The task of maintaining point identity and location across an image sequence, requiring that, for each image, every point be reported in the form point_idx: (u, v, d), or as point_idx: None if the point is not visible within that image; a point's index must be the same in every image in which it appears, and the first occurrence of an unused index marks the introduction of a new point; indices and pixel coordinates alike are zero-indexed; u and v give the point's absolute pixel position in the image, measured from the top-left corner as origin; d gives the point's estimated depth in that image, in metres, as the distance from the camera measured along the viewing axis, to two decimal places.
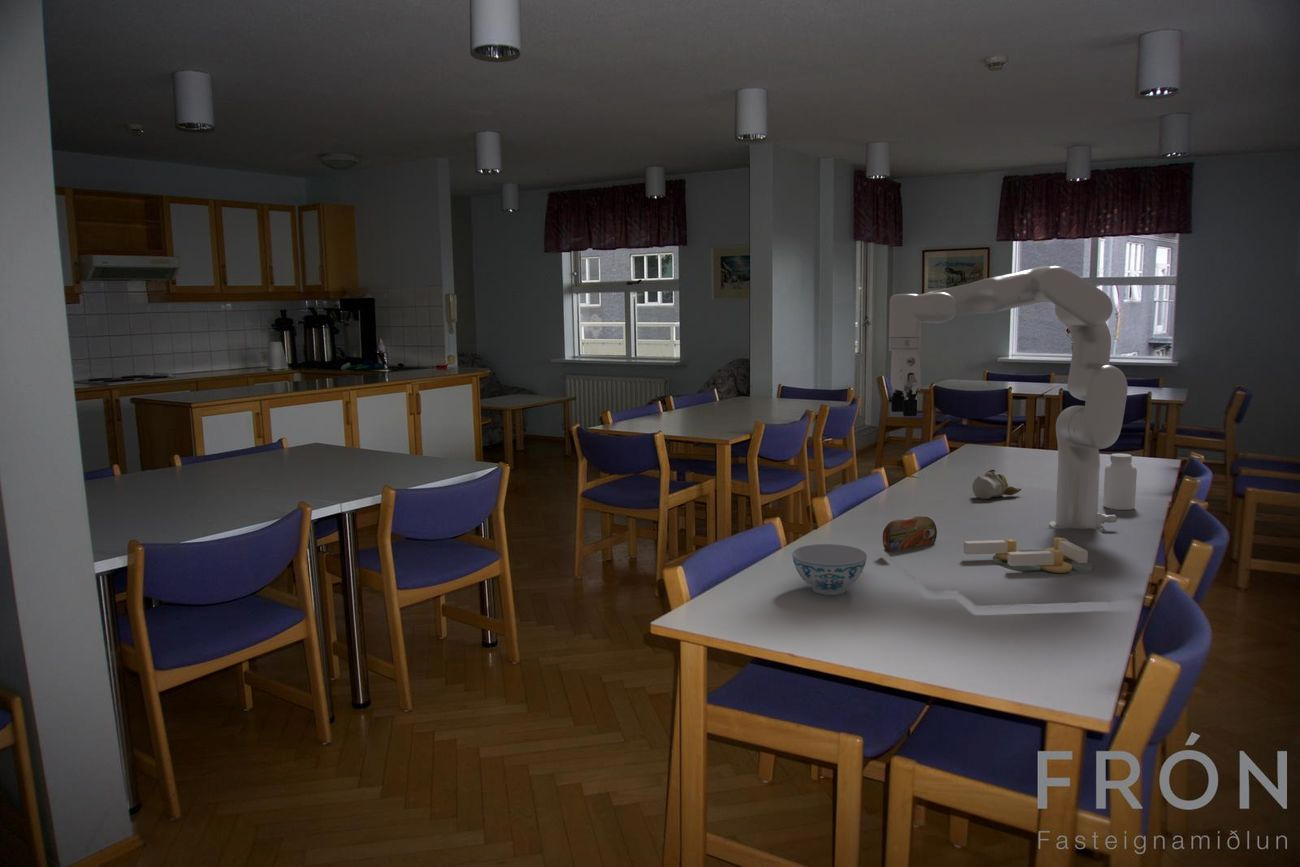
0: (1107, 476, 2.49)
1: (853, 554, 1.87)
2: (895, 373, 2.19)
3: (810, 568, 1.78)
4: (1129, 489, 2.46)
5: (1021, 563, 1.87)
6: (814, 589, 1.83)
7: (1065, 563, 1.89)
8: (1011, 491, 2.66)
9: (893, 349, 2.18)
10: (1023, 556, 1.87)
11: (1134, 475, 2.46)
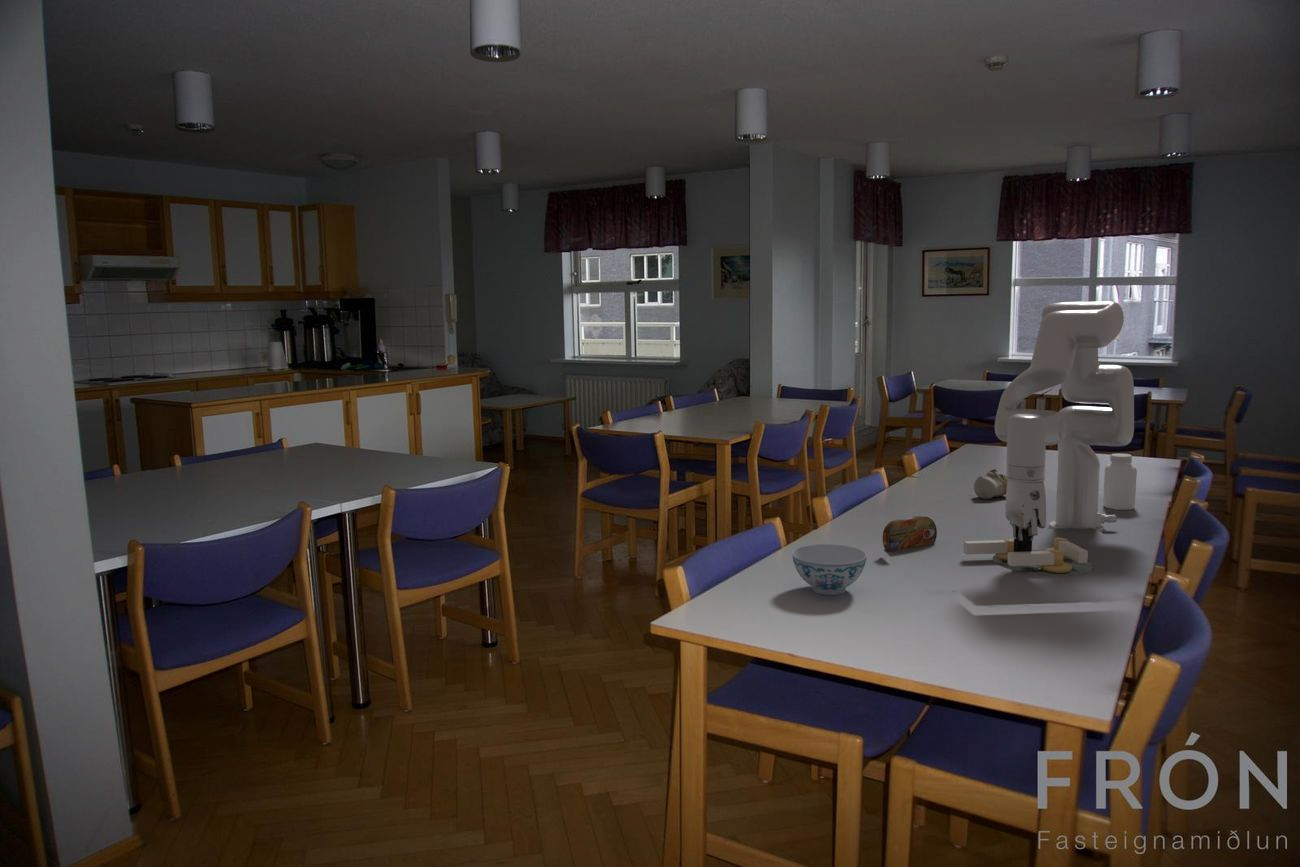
0: (1107, 476, 2.49)
1: (853, 554, 1.87)
2: (1015, 507, 1.88)
3: (810, 568, 1.78)
4: (1129, 489, 2.46)
5: (1021, 563, 1.87)
6: (814, 589, 1.83)
7: (1065, 563, 1.89)
8: None
9: (1013, 479, 1.87)
10: (1023, 556, 1.87)
11: (1134, 475, 2.46)
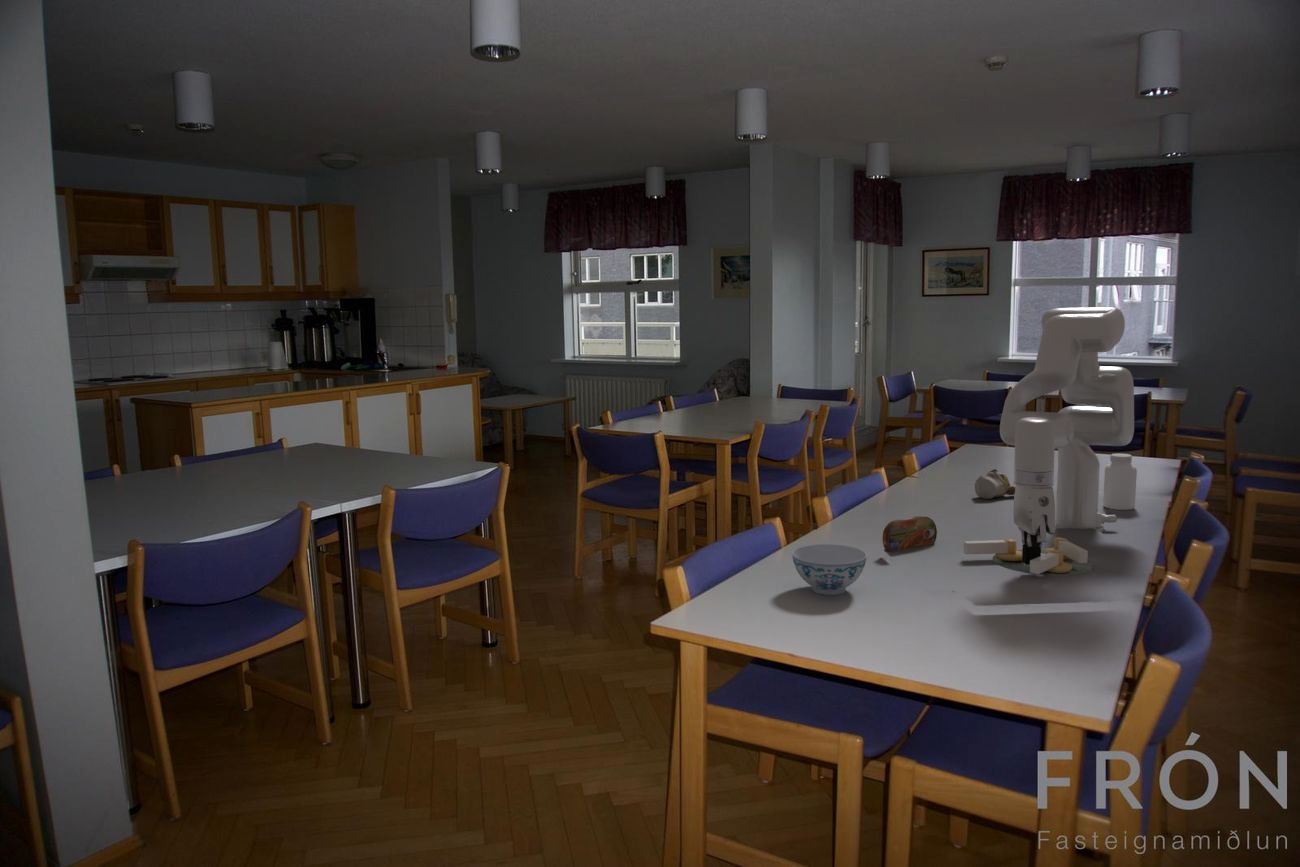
0: (1107, 476, 2.49)
1: (853, 554, 1.87)
2: (1023, 512, 1.84)
3: (810, 568, 1.78)
4: (1129, 489, 2.46)
5: (1043, 569, 1.82)
6: (814, 589, 1.83)
7: None
8: (1013, 491, 2.66)
9: (1021, 485, 1.82)
10: (1044, 562, 1.83)
11: (1134, 475, 2.46)
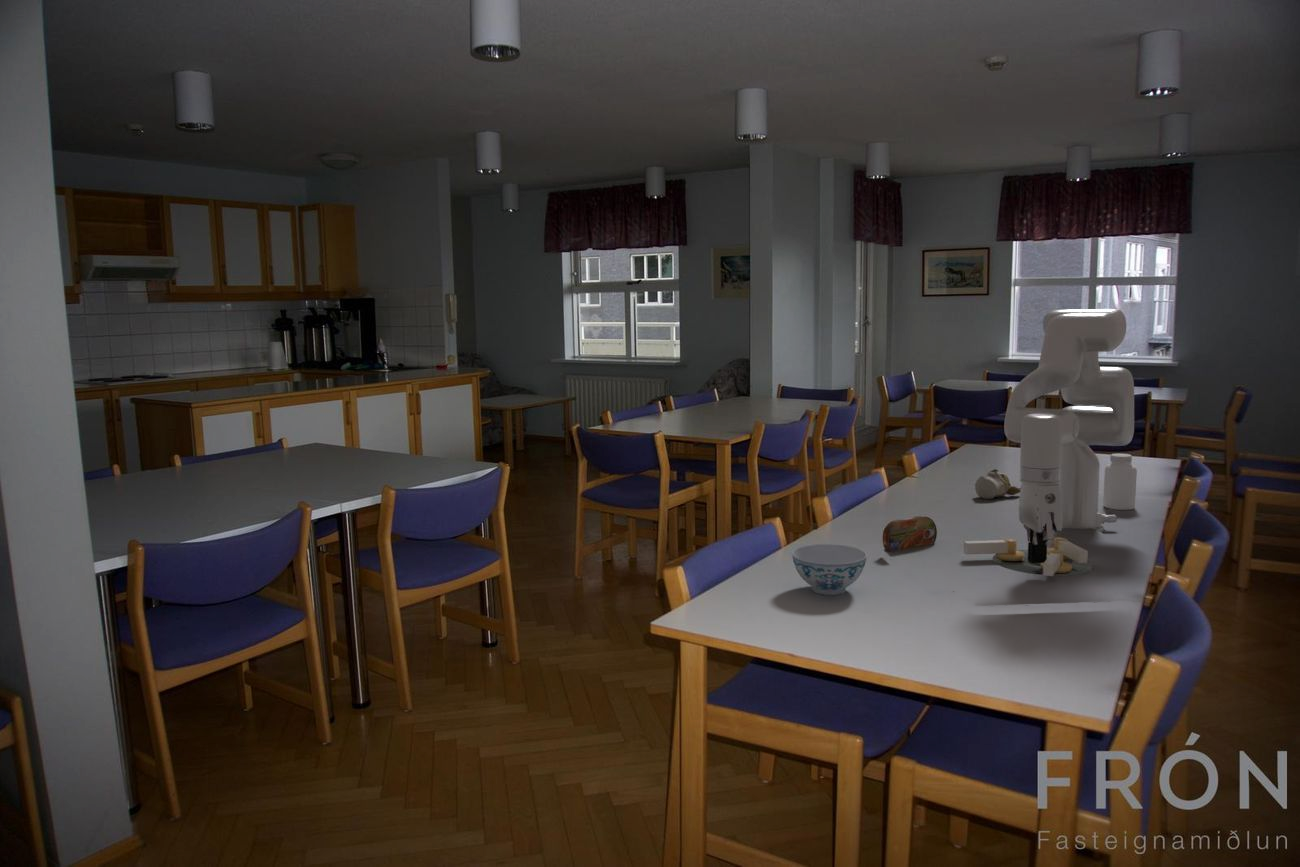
0: (1107, 476, 2.49)
1: (853, 554, 1.87)
2: (1029, 510, 1.82)
3: (810, 568, 1.78)
4: (1129, 489, 2.46)
5: (1054, 571, 1.81)
6: (814, 589, 1.83)
7: None
8: (1014, 491, 2.66)
9: (1027, 482, 1.80)
10: (1055, 563, 1.81)
11: (1134, 475, 2.46)
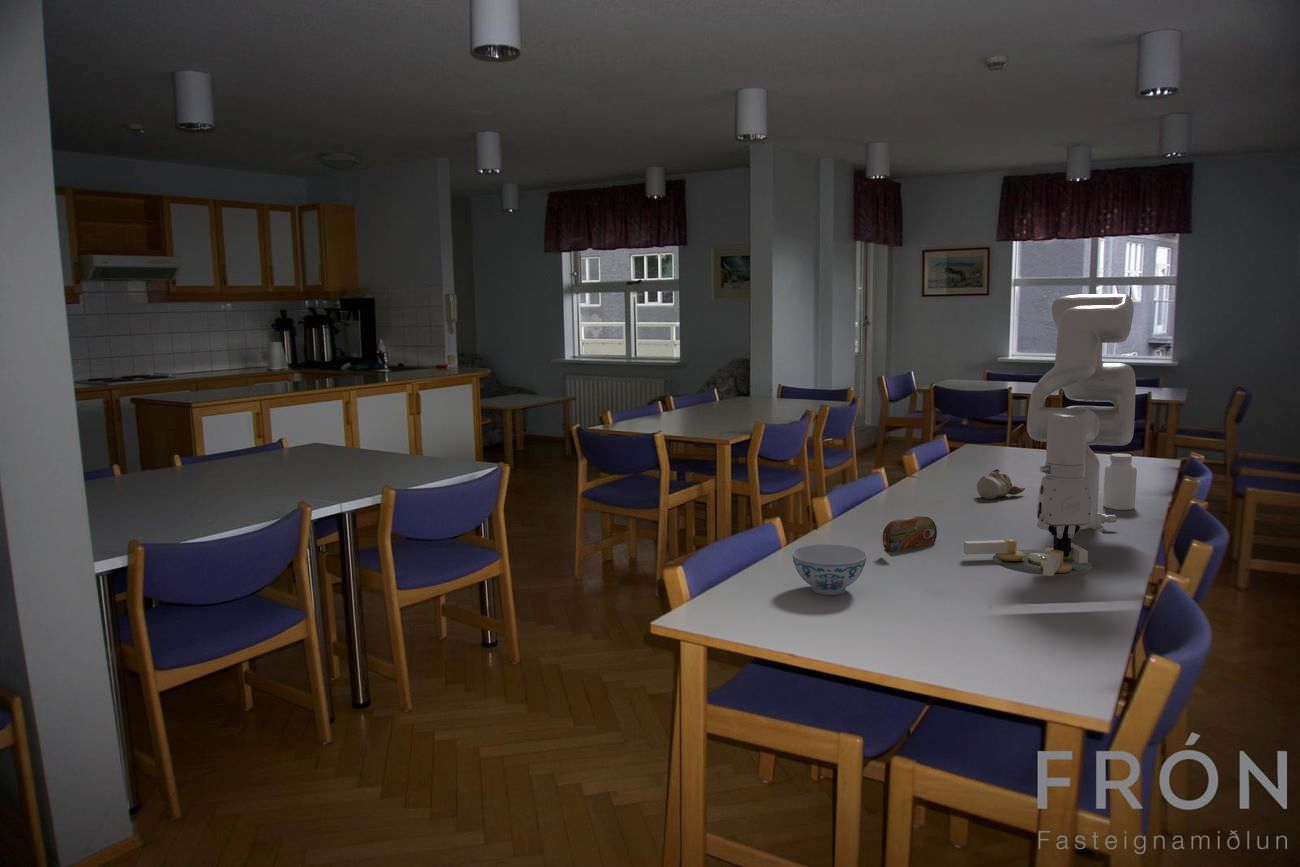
0: (1107, 476, 2.49)
1: (853, 554, 1.87)
2: None
3: (810, 568, 1.78)
4: (1129, 489, 2.46)
5: (1054, 571, 1.81)
6: (814, 589, 1.83)
7: None
8: (1015, 491, 2.67)
9: None
10: (1055, 563, 1.81)
11: (1134, 475, 2.46)
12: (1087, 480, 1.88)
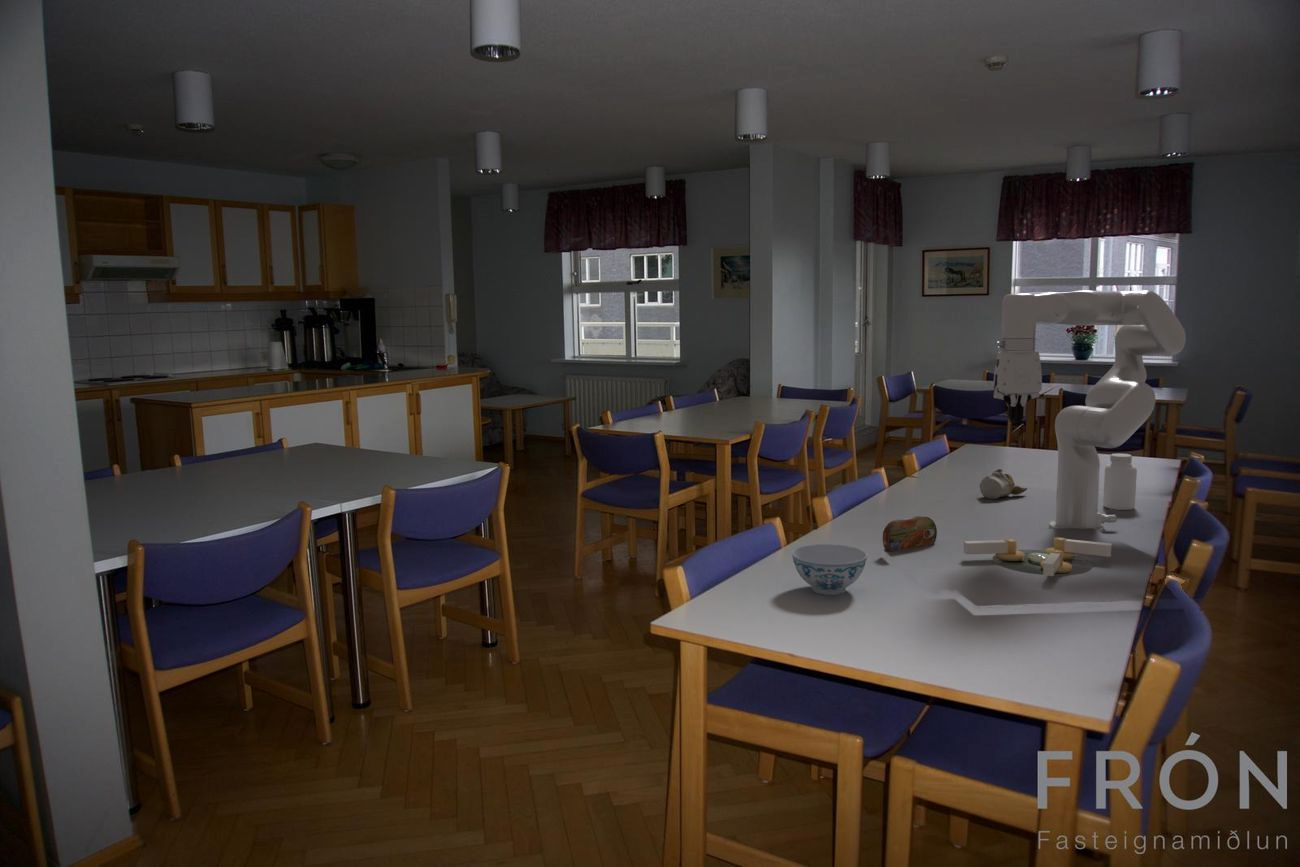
0: (1107, 476, 2.49)
1: (853, 554, 1.87)
2: None
3: (810, 568, 1.78)
4: (1129, 489, 2.46)
5: (1054, 571, 1.81)
6: (814, 589, 1.83)
7: None
8: (1018, 490, 2.67)
9: None
10: (1055, 563, 1.81)
11: (1134, 475, 2.46)
12: (1037, 353, 2.11)
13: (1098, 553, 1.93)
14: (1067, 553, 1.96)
